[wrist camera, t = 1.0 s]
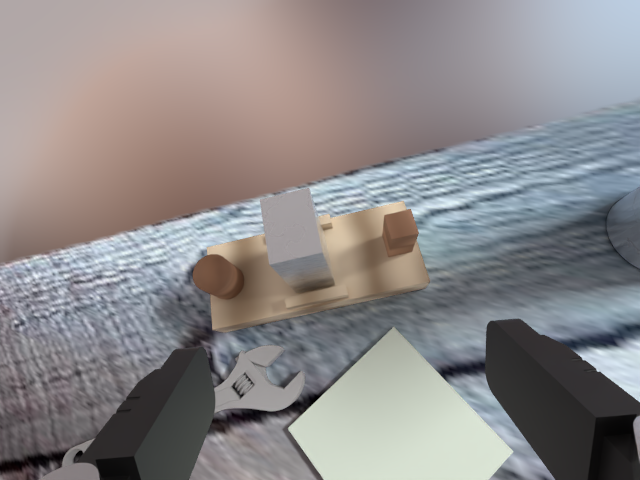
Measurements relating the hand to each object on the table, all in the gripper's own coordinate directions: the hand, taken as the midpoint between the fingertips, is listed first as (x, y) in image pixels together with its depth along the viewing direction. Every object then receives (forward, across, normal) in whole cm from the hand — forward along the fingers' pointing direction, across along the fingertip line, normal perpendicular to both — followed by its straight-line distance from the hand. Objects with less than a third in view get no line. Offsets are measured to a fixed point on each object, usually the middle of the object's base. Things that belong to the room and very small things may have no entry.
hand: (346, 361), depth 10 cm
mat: (+17, -4, +20) cm, 26 cm away
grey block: (+25, +2, +5) cm, 25 cm away
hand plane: (+27, +2, +7) cm, 28 cm away
